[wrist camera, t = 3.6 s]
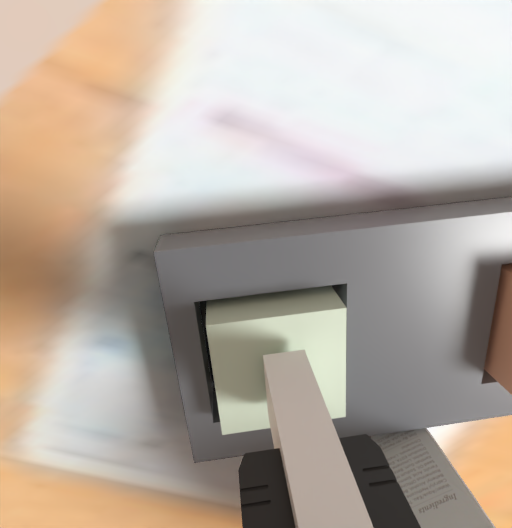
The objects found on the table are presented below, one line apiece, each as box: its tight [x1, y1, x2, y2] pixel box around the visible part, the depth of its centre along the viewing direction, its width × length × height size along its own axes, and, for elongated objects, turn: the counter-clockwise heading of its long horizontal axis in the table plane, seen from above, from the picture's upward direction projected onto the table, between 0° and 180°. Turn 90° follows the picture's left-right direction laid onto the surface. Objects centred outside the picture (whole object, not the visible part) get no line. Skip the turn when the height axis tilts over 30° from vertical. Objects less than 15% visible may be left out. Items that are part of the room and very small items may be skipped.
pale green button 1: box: [206, 285, 347, 435], centre depth 16 cm, size 5×5×3 cm
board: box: [154, 197, 512, 463], centre depth 17 cm, size 20×10×2 cm, turn 94°
